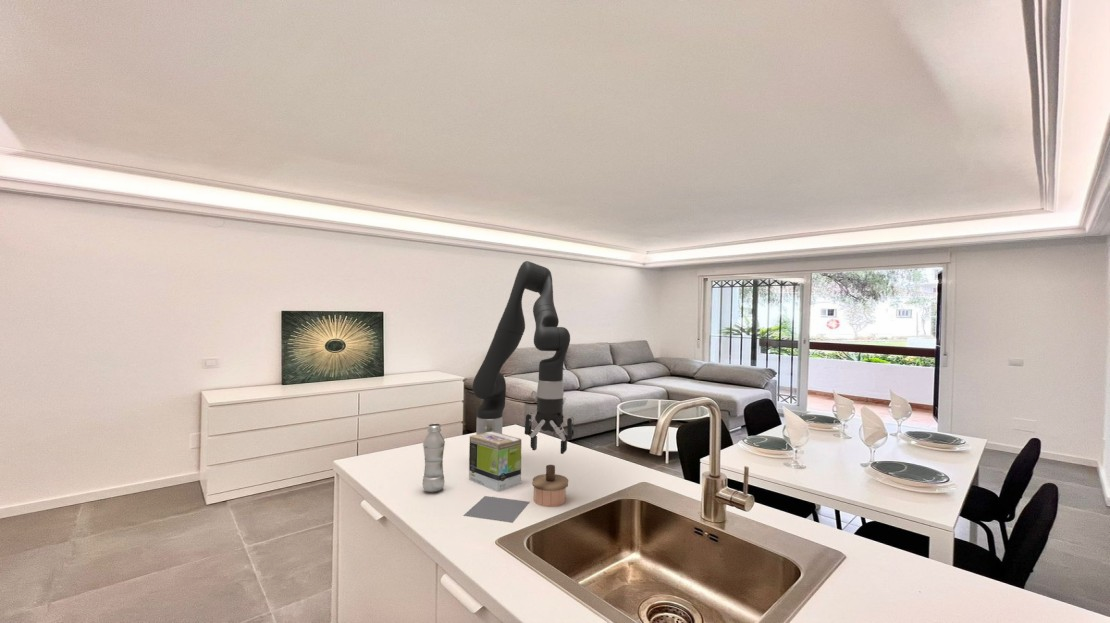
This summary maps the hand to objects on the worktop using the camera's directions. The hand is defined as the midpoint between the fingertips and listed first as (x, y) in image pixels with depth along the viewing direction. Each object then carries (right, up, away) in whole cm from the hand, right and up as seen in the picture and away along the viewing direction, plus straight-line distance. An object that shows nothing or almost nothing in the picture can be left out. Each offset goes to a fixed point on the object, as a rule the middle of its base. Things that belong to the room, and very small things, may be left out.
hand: (548, 451), depth 135 cm
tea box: (-18, -15, +15) cm, 27 cm away
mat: (-14, -14, -6) cm, 21 cm away
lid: (+1, -10, 0) cm, 10 cm away
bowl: (0, -15, 0) cm, 15 cm away
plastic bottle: (-35, -14, +7) cm, 39 cm away
